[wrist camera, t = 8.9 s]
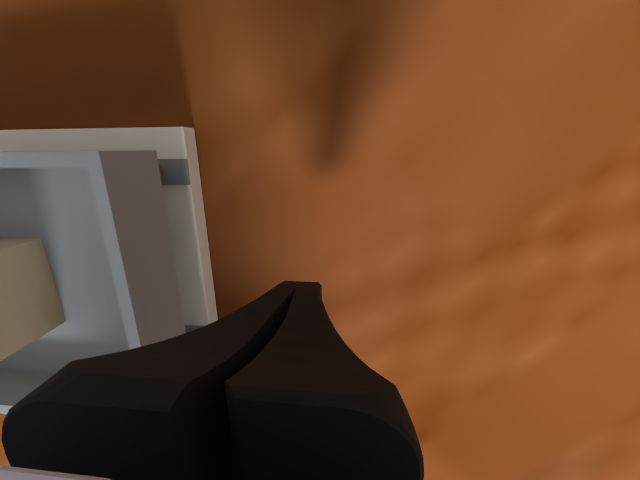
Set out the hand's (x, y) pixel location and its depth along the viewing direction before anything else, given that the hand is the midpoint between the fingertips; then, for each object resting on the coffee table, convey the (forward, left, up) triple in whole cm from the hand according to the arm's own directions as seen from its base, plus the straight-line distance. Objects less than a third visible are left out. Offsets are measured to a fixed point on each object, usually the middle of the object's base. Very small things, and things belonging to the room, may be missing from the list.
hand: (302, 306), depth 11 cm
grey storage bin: (0, +12, -4) cm, 13 cm away
